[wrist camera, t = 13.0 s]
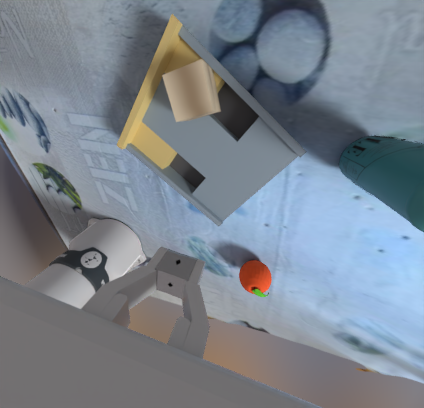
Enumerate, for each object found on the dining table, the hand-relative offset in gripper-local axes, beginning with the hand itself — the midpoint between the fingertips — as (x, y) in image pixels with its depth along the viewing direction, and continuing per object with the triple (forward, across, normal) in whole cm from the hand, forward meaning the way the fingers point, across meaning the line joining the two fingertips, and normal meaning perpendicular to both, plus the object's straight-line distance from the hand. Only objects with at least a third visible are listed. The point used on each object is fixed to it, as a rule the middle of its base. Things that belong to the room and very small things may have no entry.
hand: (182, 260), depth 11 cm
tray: (+23, +4, -2) cm, 24 cm away
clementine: (+23, -12, +22) cm, 34 cm away
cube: (+20, +7, -9) cm, 23 cm away
